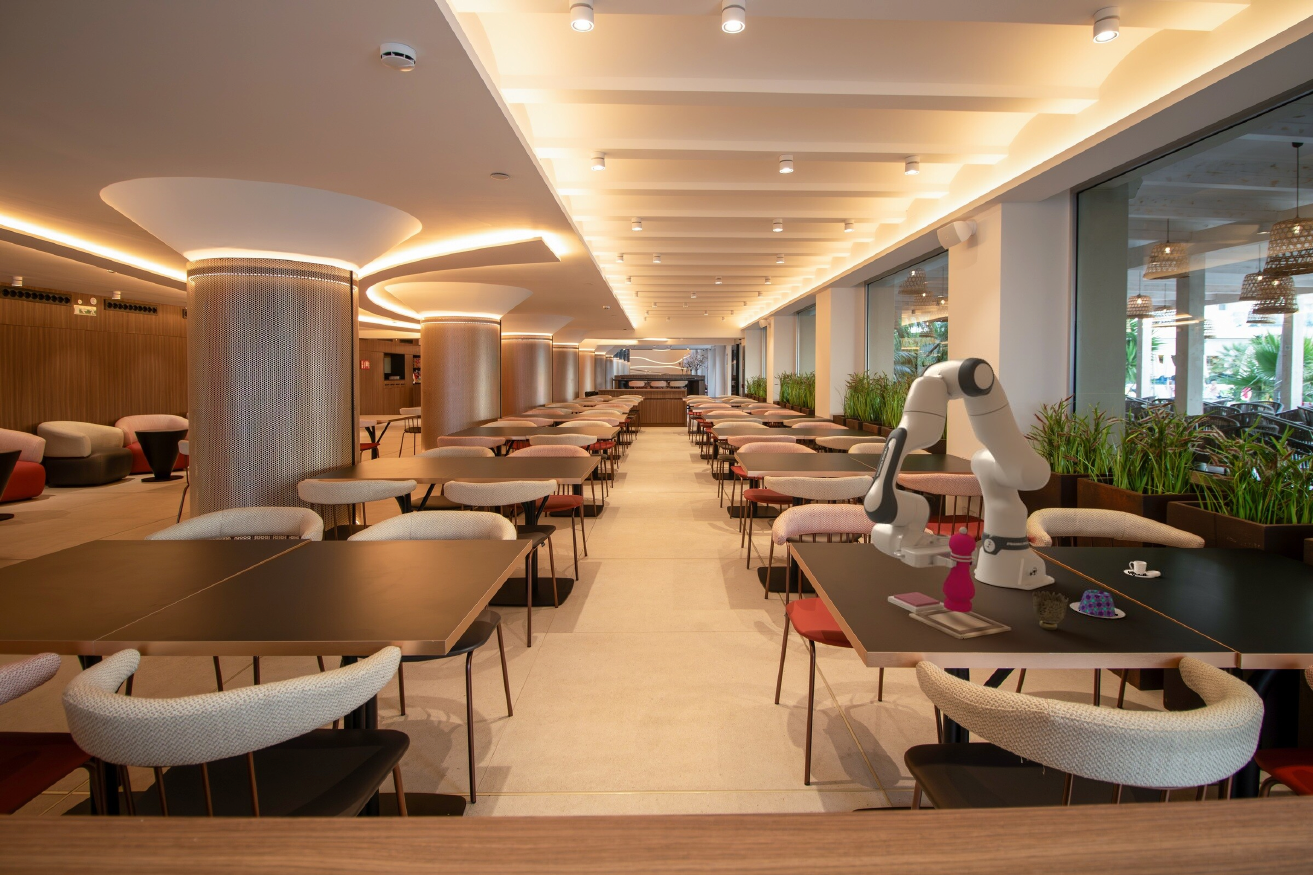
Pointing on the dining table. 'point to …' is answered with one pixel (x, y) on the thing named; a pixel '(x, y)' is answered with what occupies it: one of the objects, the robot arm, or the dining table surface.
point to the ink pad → (916, 602)
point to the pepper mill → (960, 573)
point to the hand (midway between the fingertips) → (964, 563)
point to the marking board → (959, 623)
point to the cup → (1049, 608)
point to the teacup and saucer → (1142, 569)
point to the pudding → (1097, 605)
